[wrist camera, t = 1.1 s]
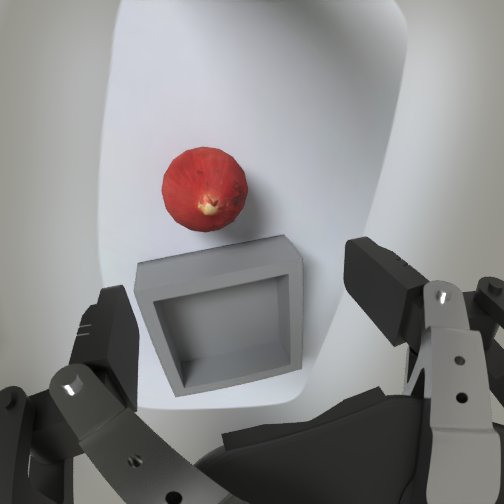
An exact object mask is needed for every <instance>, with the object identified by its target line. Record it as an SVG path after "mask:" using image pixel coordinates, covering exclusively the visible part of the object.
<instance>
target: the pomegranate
mask: <svg viewBox="0 0 504 504" xmlns="http://www.w3.org/2000/svg"><path fill="white" fill-rule="evenodd" d="M247 192H248V187H247V182H246V178H245V173H244V171H243V169H242V168H241V167H240V166H239V164H238V163H237V162H236V160H235V159H234V158H233V157H232V156H230V155H229V154H227V153H225V152H223V151H222V150H220V149H216V148H209V147H199V148H195V149H191V150H187V151H185V152H184V153H182V154H181V155H179V156H178V157H176V158H175V159H174V160H173V161H172V162H171V164H170V166H169V168H168V169H167V171H166V173H165V174H164V178H163V184H162V195H163V199H164V203H165V207H166V210H167V211H168V212H169V213H170V215H171V216H172V217H173V219H174V220H175V221H176V222H177V223H179V224H181V225H182V226H184V227H186V228H188V229H190V230H193V231H200V232H210V231H214V230H219V229H221V228H223V227H225V226H226V225H228V224H230V223H232V222H233V221H234V220H235V218H236V217H237V216H238V214H239V213H240V211H241V210H242V209H243V207H244V204H245V200H246V196H247Z"/></svg>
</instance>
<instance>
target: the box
mask: <svg viewBox="0 0 504 504" xmlns="http://www.w3.org/2000/svg"><path fill="white" fill-rule="evenodd" d="M134 294H135V297H136V300H137V303H138V306H139V308H140V311H141V314H142V317H143V319H144V322H145V325H146V327H147V330H148V333H149V335H150V338H151V340H152V343H153V346H154V348H155V351H156V353H157V355H158V358H159V360H160V363H161V365H162V368H163V370H164V372H165V375H166V377H167V379H168V381H169V384H170V386H171V388H172V390H173V393H174V395H175V397H180V396H186V395H191V394H197V393H202V392H207V391H212V390H217V389H222V388H227V387H232V386H236V385H241V384H245V383H249V382H253V381H258V380H262V379H266V378H270V377H273V376H277V375H281V374H285V373H288V372H292V371H296V370H299V369H302V340H303V259H302V256H301V255H300V254H299V253H298V251H297V250H296V249H295V248H294V246H293V245H292V244H291V243H290V241H289V240H288V239H287V238H286V236H285V235H279V236H274V237H269V238H264V239H258V240H253V241H248V242H242V243H237V244H232V245H227V246H222V247H216V248H211V249H206V250H201V251H196V252H191V253H186V254H181V255H175V256H170V257H165V258H160V259H155V260H150V261H145V262H140V263H138V265H137V272H136V278H135V285H134Z"/></svg>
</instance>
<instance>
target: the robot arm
mask: <svg viewBox="0 0 504 504" xmlns="http://www.w3.org/2000/svg"><path fill="white" fill-rule="evenodd" d="M344 284H345V287H346V290H347V291H348V293H349V294H350V295H351V296H352V298H353V299H354V300H355V301H356V302H357V303H358V305H359V306H360V307H361V308H362V309H363V310H364V312H365V313H366V314H367V315H368V316H369V318H370V319H371V320H372V321H373V322H374V323H375V325H376V326H377V327H378V328H379V329H380V331H381V332H382V333H383V334H384V335H385V336H386V338H387V339H388V340H389V341H390V343H391V344H392V345H393V346H394V347H395V346H398V345H400V344H403V343H405V342H407V343H408V345H409V346H408V349H407V354H406V367H405V377H404V387H403V394H402V395H387V396H385V394H384V393H383V392H382V390H381V388H380V387H379V386H378V387H376V388H373V389H371V390H368V391H366V392H363V393H361V394H358V395H356V396H353V397H350V398H347V399H345V400H343V401H342V402H340V403H339V404H337V405H336V406H334V407H332V408H331V409H329V410H328V411H326V412H324V413H323V414H321V415H319V416H318V417H316V418H314V419H312V420H310V421H307V422H297V423H283V424H264V425H259V426H255V427H251V428H247V429H242V430H238V431H233V432H229V433H224V434H222V438H223V443H224V445H223V446H221V447H218V448H216V449H215V450H213V451H211V452H209V453H208V454H206V455H205V456H203V457H202V458H201V459H199V460H198V461H197V462H196V463H195V464H194V465H192V464H191V463H190V462H189V461H187V460H186V459H185V458H184V457H183V456H181V455H180V454H179V453H178V452H177V451H176V450H174V449H173V448H172V447H171V446H170V445H168V444H167V443H166V442H165V441H164V440H163V439H162V438H161V437H160V436H159V435H158V434H156V433H155V432H154V431H153V430H152V429H151V428H150V427H149V426H148V425H147V424H146V423H145V422H144V421H143V420H142V419H141V418H140V417H139V416H137V415H136V414H135V412H137V386H138V357H139V329H138V324H137V321H136V318H135V315H134V313H133V310H132V307H131V305H130V302H129V299H128V296H127V293H126V291H125V288H124V286H123V285H118V286H112V287H107V288H102V289H101V291H100V295H99V298H98V302H97V304H95V305H90V307H89V308H88V309H87V310H86V312H85V313H84V314H83V316H82V318H81V322H80V328H79V329H78V332H77V336H76V339H75V342H74V346H73V350H72V353H71V357H70V361H69V365H67V366H65V367H63V368H61V369H60V370H59V371H58V372H56V374H55V375H54V376H53V377H52V379H51V381H50V384H49V389H47V390H45V391H43V392H40V393H37V394H34V395H31V396H29V397H28V396H27V395H26V393H25V392H24V391H23V389H21V388H20V387H17V386H10V387H7V388H5V389H3V390H1V391H0V504H74V502H73V457H75V456H77V455H80V454H83V453H85V454H86V455H87V456H88V457H89V459H90V460H91V462H92V463H93V464H94V466H95V467H96V468H97V469H98V471H99V472H100V473H101V475H102V476H103V477H104V478H105V480H106V481H107V482H108V483H109V484H110V486H111V487H112V488H113V489H114V490H115V491H116V493H117V494H118V495H119V496H120V497H121V498H122V499H123V501H124V502H125V503H126V504H504V425H501V424H497V423H494V422H492V412H491V401H490V390H491V392H492V393H493V394H494V395H495V397H496V398H497V399H498V401H499V402H500V403H501V405H502V406H503V407H504V349H503V348H502V347H501V346H500V345H499V344H498V343H497V342H496V340H495V339H494V337H495V335H496V333H497V330H498V328H499V326H501V327H502V328H503V329H504V281H502V280H500V279H498V278H495V277H483V278H481V279H480V280H479V282H478V285H477V289H476V291H472V292H461V290H460V289H459V288H458V287H457V286H455V285H454V284H452V283H449V282H446V281H439V280H436V281H431V282H430V281H428V280H427V279H426V278H425V277H424V276H423V275H421V274H420V273H419V272H418V271H417V270H415V269H414V268H413V267H411V266H410V265H408V263H407V262H405V261H404V260H403V259H402V260H401V258H400V257H399V256H398V255H396V254H395V253H394V252H393V251H390V250H388V249H386V248H383V247H381V246H378V245H377V244H376V243H375V242H373V241H372V240H371V239H370V238H368V237H361V238H356V239H351V240H348V241H347V242H346V245H345V260H344ZM489 389H490V390H489ZM29 455H31V459H30V469H29V477H28V464H29Z"/></svg>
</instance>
